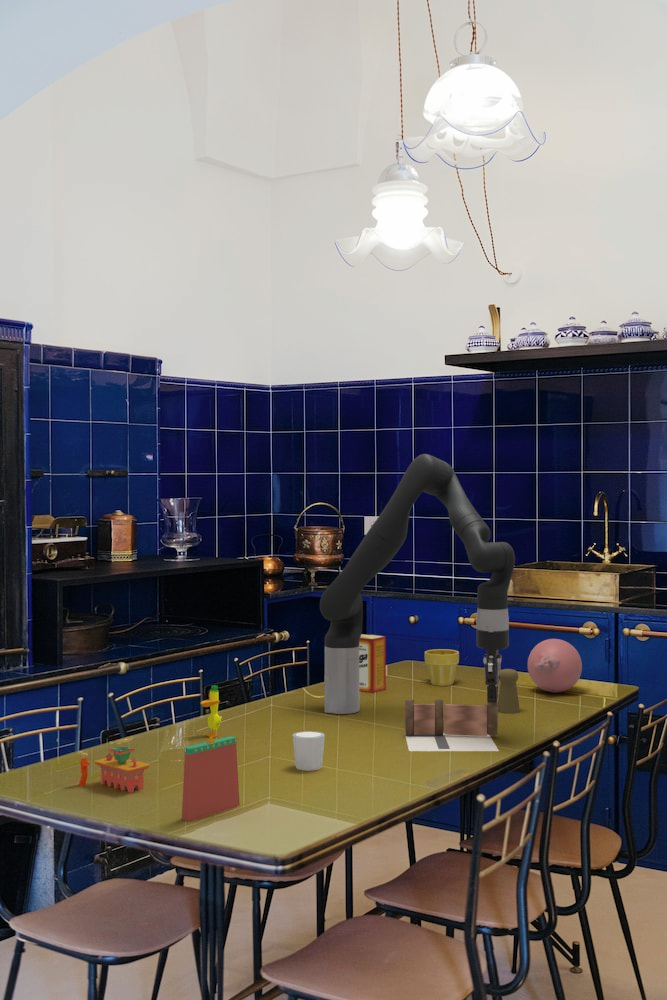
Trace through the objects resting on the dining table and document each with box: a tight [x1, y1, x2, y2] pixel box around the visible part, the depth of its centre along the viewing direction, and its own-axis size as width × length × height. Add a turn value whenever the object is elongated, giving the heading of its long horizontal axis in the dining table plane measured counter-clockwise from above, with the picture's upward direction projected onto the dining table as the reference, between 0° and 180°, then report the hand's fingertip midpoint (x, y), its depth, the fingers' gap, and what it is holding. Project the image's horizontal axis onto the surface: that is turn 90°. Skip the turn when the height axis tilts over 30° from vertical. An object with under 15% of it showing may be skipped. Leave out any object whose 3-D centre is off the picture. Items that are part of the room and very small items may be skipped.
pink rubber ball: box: [527, 638, 583, 694], centre depth 307 cm, size 15×20×15 cm
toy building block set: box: [78, 735, 241, 822], centre depth 206 cm, size 12×35×14 cm, turn 49°
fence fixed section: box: [404, 698, 444, 737], centre depth 254 cm, size 9×2×8 cm, turn 89°
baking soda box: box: [359, 633, 387, 694], centre depth 314 cm, size 10×6×16 cm
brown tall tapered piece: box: [498, 668, 521, 714], centre depth 283 cm, size 6×6×11 cm
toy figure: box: [200, 685, 222, 738], centre depth 255 cm, size 7×4×12 cm, turn 141°
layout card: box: [404, 732, 500, 752], centre depth 248 cm, size 20×18×1 cm
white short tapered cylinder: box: [292, 730, 326, 772], centre depth 227 cm, size 7×7×7 cm
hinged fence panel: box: [443, 678, 499, 736], centre depth 252 cm, size 12×2×14 cm, turn 80°
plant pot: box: [424, 648, 460, 687], centre depth 323 cm, size 10×10×10 cm
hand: (492, 700), depth 252 cm, fingers closed on hinged fence panel, 2 cm apart
